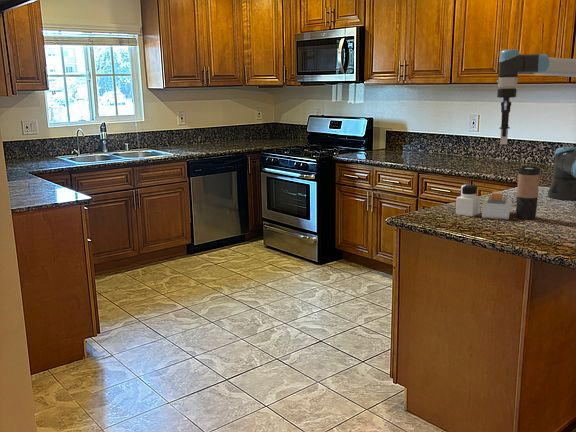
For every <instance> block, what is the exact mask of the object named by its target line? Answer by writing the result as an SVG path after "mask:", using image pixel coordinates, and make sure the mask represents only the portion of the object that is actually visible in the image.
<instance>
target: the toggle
mask: <svg viewBox="0 0 576 432" xmlns="http://www.w3.org/2000/svg"><path fill="white" fill-rule="evenodd" d="M491 195H492V198H491V200H503V197H504V192H502V191H492V192H491Z"/></svg>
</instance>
